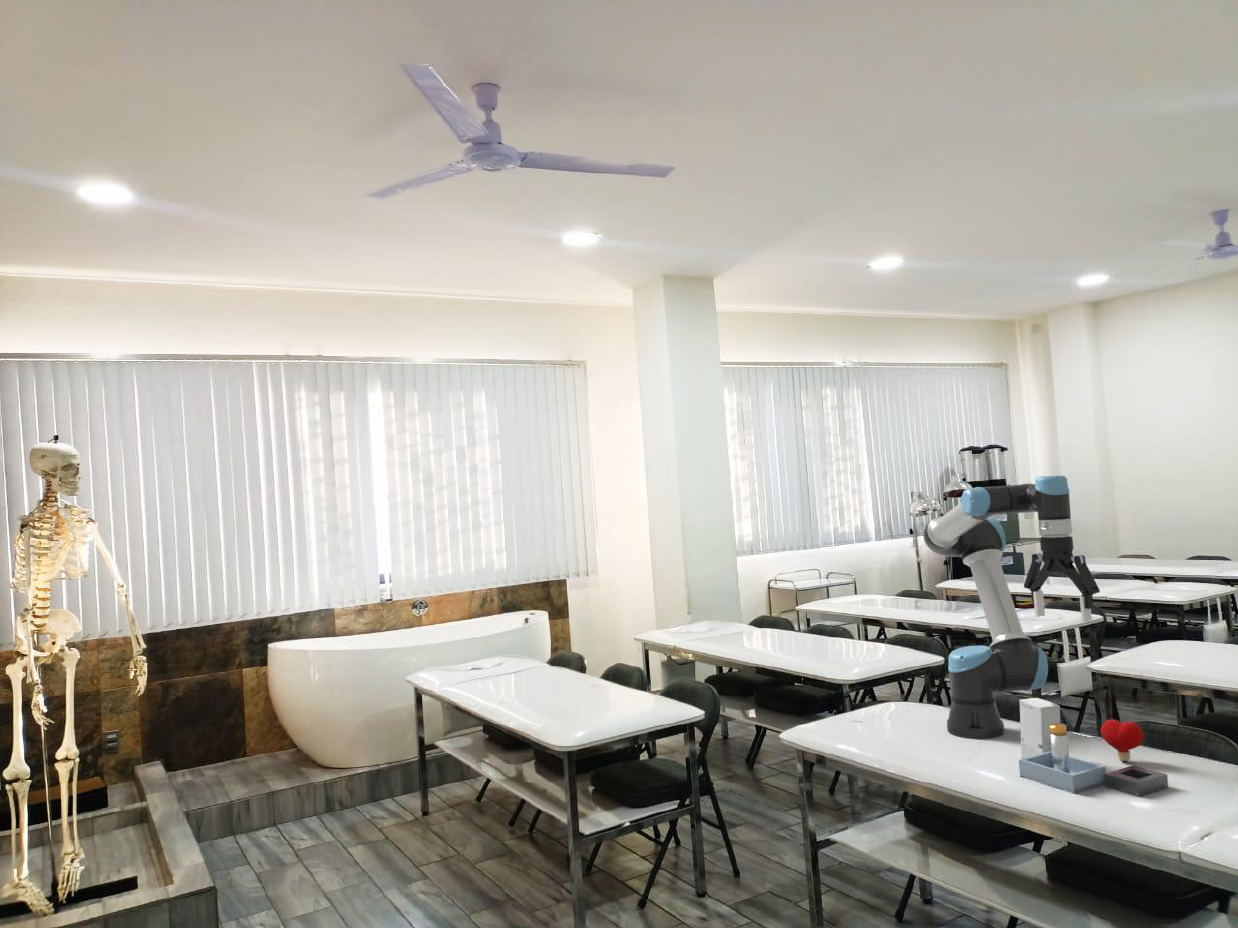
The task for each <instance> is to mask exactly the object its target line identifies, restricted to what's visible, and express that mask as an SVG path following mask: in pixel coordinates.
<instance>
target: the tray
mask: <svg viewBox="0 0 1238 928" xmlns="http://www.w3.org/2000/svg"><path fill="white" fill-rule="evenodd" d="M1069 763H1070V773H1066V772H1063V771H1060V770H1056V769H1053V762H1052V751H1049V752H1045V753H1041V754H1038V755H1034V756H1030V757H1026V758H1023V757H1022V758H1020V759H1018V766H1019V768H1018V769H1019V777H1021V776H1023V777H1022V778H1024V777H1026V778H1025V779H1027V778H1028V779H1027V780H1030V779H1031V780H1030V781H1033V780H1034V782H1036V781H1037V783H1039V782H1040V783H1039V784H1043V785H1045V784H1046V786H1049V787H1052V788H1055V789H1058V790H1062V791H1064V790H1065V792H1068V793H1070V792H1071V794H1073V795H1074V794H1077V793H1081V792H1084V791H1087V790H1091V789H1093V788H1097V787H1101V786H1103V785H1106V783H1105V773H1107V767H1106V766H1105V765H1103V764H1099V763H1095V762H1092V761H1088V760H1084V759H1082V758H1081V759H1080V758H1078V757H1074V756H1070V755H1069Z"/></svg>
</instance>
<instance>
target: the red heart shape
mask: <svg viewBox="0 0 1238 928" xmlns="http://www.w3.org/2000/svg"><path fill="white" fill-rule="evenodd" d="M1100 734H1101V736H1102V738H1103V740H1104V742H1106V743H1107V744H1108V745H1109V746H1111V747H1112V748H1113V749H1114V750H1116V753H1117V759H1118V760H1120V761H1121V762H1122V763H1127V762H1128V761H1130V760H1131V751H1130V750H1133V749H1136V748H1138V747H1139V746H1141V744H1142V743H1143V741H1144V732H1143V730H1142V728H1141V727H1140V725H1138V724H1137V723H1136V722H1134V721H1126V722H1122V721H1119V720H1117V719H1113V718H1112V719H1108V720H1106V721H1104V722H1103V724H1102V725H1101V728H1100Z"/></svg>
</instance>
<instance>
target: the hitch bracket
mask: <svg viewBox="0 0 1238 928" xmlns="http://www.w3.org/2000/svg"><path fill="white" fill-rule="evenodd" d="M1105 783H1106V784H1105V787H1106V788H1108V789H1111V790H1115V791H1119V792H1122V793H1126V794H1128V795H1131V796H1134V797H1138V798H1141V797H1143V796H1147V795H1150V794H1153V793H1156V792H1159V791H1162V790H1166V789H1168V788H1169V779H1168V774H1167V773H1164V772H1161V771H1156V770H1153V769H1150V768H1145V767H1141V766H1139V765H1138V766H1137V765H1135V764H1132V765H1130V766H1127V767H1123V768H1120V769H1117V770H1116V769H1115V770H1113V771H1109V772H1106V773H1105Z"/></svg>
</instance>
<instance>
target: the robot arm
mask: <svg viewBox="0 0 1238 928" xmlns="http://www.w3.org/2000/svg"><path fill="white" fill-rule="evenodd" d="M1034 482H1035V483H1022V484H1012V485H1000V486H983V487H982V486H976V487H971V488H967V489H965V490H964V491H963V492H962V495H961V497H960V503H958V504H957V505H956V506H954V507H953V508H951V509H950V510H948V511H947V512H946V513H944V515H942V516H936V517H934V518H933V519H931V520H930V521H928V523H927V524H926V525H925V527H924V529H923V533H922V534H923V541H924V543H925V545H926V547H927V548H928V549H930V551H932V552H933V553H935V554H937V555H941V556H944V557H961V559H962V563H963V565H965V566H968V567H969V568H970V570H971V574H972V578H973V580H974V584H975V586H976V591H977V593H978V598H979V600H980V604H981V607H982V609H983V610H982V611H983V613H984V616H985V620H986V622H987V626H988V629H989V634H990V635H991V638H992V642H991V644H989V646H986V645H968V646H963V647H960V648H956V649H954V650H952V651H951V652H950V654H949V655H948V666H947V668H948V675H949V686H950V687H949V688H950V696H951V697H950V699H951V705H950V709H949V713H948V718H947V720H946V728H947V729H946V731H947V732H949V734H952V735H954V736H958V737H961V738H969V739H989V738H990V739H991V738H996V737H1000V736H1002V735H1004V734H1005V724H1004V721H1003V720H1002V718H1001V715H1000V712H999V710H998V707H997V704H996V696H995V695H996V694H995V693H1006V692H1007V693H1008V692H1019V691H1020V692H1021V691H1025V692H1027V691H1029V690H1037V689H1040V688H1042V687H1043V686H1044V685H1045V683H1046V681H1047V679H1048V675H1049V664H1048V658H1047V655H1046V653H1045V651H1044V650H1043V649H1042V648H1041V647H1039V646H1035V645H1034V644H1033V641H1032V639H1031V637H1028V636H1026V635H1025V634H1024V632H1023V627H1022V626H1021V623H1020V619H1019V617H1018V613H1017V610H1016V607H1015V603H1014V600H1013V598H1012V595H1011V592H1010V589H1009V585H1008V583H1007V579H1006V576H1005V573H1004V570H1003V567H1002V565H1001V562H1000V560H1001V558H1002V557H1003V555H1004V554H1003V551H1004V550H1005V548H1006V545H1007V540H1006V533H1005V530H1004V528H1003V526H1002V524H1001V523H1000V522H999V521H998V520H997V519H996V518H994V517H992V516H995V515H996V516H997V515H1007V514H1008V515H1010V514H1011V515H1012V514H1024V513H1025V514H1026V513H1037V519H1038V528H1039V530H1038V531H1039V535H1040V536H1041V537H1040V538H1039V543H1040V550H1041V552H1042V553H1041V552H1039V553H1033V554H1032V555H1031V563H1030V566H1029V569H1028V571H1027V575H1026V578H1025V580H1024V584H1023V588H1024V589H1028V590H1029V591H1030V593H1031V602H1032V604H1034V605H1033V606H1034V616H1035V617H1036V618H1039V617H1045V616H1046V613H1045V599H1044V591H1043V590H1042V587H1043V586H1044V584H1045V583H1046V581H1047V580H1048V578H1049V577H1050V575H1051V573H1060V574H1062V573H1063V574H1064V575H1066V576H1068V578H1069V580H1070V581H1071V582H1072V583H1073V585H1074V586H1075V587H1076V588H1077V589H1078V591H1079V592H1080V593H1081V595H1079V603H1080V604H1079V606H1080V615H1081V616H1080V617H1081V623H1083V624H1084V623H1089V622H1093V617H1092V616H1093V615H1092V609H1093V607H1094V601H1093V596H1094V595H1096V594H1098V593H1100V592H1101V591H1100V587H1099V586H1098V584H1097V582H1096V580H1095V578H1094V576H1093V575H1092V572H1091V570H1090V568H1089V566H1088V565H1087V563H1086V557H1085V555H1084V554H1082V555H1081V554H1080V555H1074V554H1073V551H1074V541H1073V540H1074V538H1073V537H1072V534H1073V528H1072V527H1073V525H1072V518H1071V502H1070V501H1071V500H1070V489H1069V485H1068V478H1067V477H1066V476H1065V475H1046V476H1044V475H1043V476H1037V477H1036V478H1035V481H1034ZM1043 563H1044V564H1043ZM1042 564H1043V566H1042Z"/></svg>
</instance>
